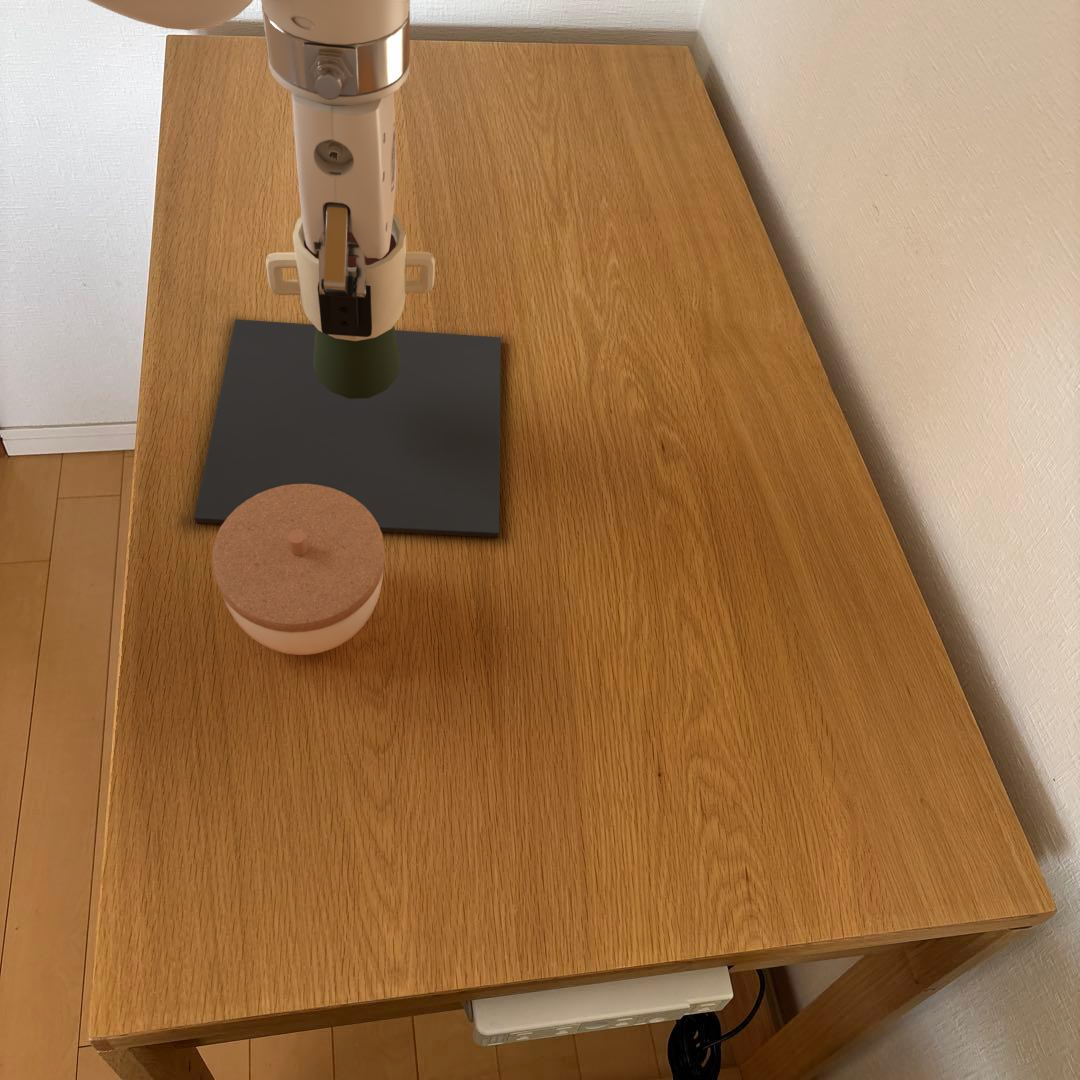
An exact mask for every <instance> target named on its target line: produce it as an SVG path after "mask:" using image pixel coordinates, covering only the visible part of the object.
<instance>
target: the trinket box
mask: <svg viewBox="0 0 1080 1080" xmlns="http://www.w3.org/2000/svg"><path fill="white" fill-rule="evenodd" d="M385 552H386V551H385V541H384V537H383V532H381V530H380V528H379V525H378V523H377V522H376V520H375V519H374V517H373V515H372V514H371V513H370V512H369V511H368V510H367V509H366V507H365V506H364V505H362V504H361V503H360V502H358V501H357V500H356V499H355V498H353V497H351V496H349V495H347V494H346V493H344V492H341V491H339V490H336V489H333V488H330V487H326V486H321V485H314V484H291V485H283V486H279V487H276V488H272V489H269V490H266V491H264V492H261V493H259V494H257V495H255V496H253V497H252V498H250V499H248V500H246V501H245V502H244V503H242V504H241V505H240V506H238V507H237V508H236V509H235V510H234V511H233V512H232V513H231V514H230V515H229V516H228V517H227V519H226V520H225V522H224V523H223V524H221V526H220V528H219V530H218V532H217V534H216V536H215V539H214V542H213V546H212V549H211V566H212V567H211V568H212V573H213V577H214V580H215V583H216V586H217V588H218V590H219V592H220V594H221V596H222V599H223V602H224V603H225V606H226V608H227V609H228V611H229V613H230V615H231V616H232V618H233V620H234V621H235V622H236V623H237V625H238V626H239V627H240V629H242V630H243V631H244V632H245V634H247V635H248V636H249V637H250V638H251V639H252V640H254V641H255V642H257V643H259V644H260V645H262V646H263V647H265V648H268V649H270V650H273V651H275V652H278V653H283V654H286V655H296V656H307V655H308V656H309V655H315V654H320V653H324V652H328V651H330V650H333V649H336V648H338V647H339V646H341V645H343V644H345V643H346V642H347V641H349V640H350V639H352V638H353V637H354V636H355V635H356V634H357V633H358V632H359V631H360V630H361V629H362V628H363V627H364V626H365V625H366V624H367V622H368V621H369V619H370V617H371V615H372V614H373V613H374V611H375V608H376V607H377V603H378V600H379V598H380V594H381V590H382V585H383V578H384V568H385V567H384V566H385V560H386V559H385V558H386V555H385Z"/></svg>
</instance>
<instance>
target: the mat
mask: <svg viewBox="0 0 1080 1080" xmlns="http://www.w3.org/2000/svg"><path fill="white" fill-rule="evenodd" d="M315 329H316V327H315V326H314V325H313V323H311V324H310V323H297V322H296V323H295V322H282V321H268V320H255V319H254V320H253V319H238V318H237V319H235V320H234V324H233V329H232V334H231V338H230V343H229V348H228V353H227V356H226V357H227V358H226V362H225V367H224V371H223V377H222V381H221V387H220V391H219V396H218V401H217V405H216V411H215V416H214V420H213V424H212V425H213V426H212V430H211V435H210V440H209V445H208V449H207V453H206V459H205V464H204V467H203V468H204V469H203V474H202V477H201V483H200V487H199V492H198V497H197V502H196V507H195V512H194V516H193V520H194V523H197V524H216V525H218V524H219V525H222V524H223V523H224V522H225V520H226V519H227V517H228V516H229V515H230V514H231V513H232V512H233V511H234V510H235V509H236V508H237V507H238V506H240V505H241V504H242V503H244V502H245V501H246V500H248V499H250V498H252V497H253V496H255V495H257V494H259V493H261V492H264V491H266V490H269V489H272V488H276V487H279V486H283V485H291V484H314V485H321V486H326V487H330V488H333V489H336V490H339V491H341V492H344V493H346V494H347V495H349V496H351V497H353V498H355V499H356V500H357V501H358V502H360V503H361V504H362V505H364V506H365V507H366V509H367V510H368V511H369V512H370V513H371V514H372V515H373V517H374V519H375V520H376V522H377V523H378V525H379V528H380V530H381V532H382V533H383V532H384V533H399V534H401V533H402V534H403V533H404V534H423V535H445V536H462V537H464V536H465V537H483V538H499V536H500V488H501V487H500V486H501V485H500V483H501V482H500V481H501V480H500V476H501V474H500V473H501V470H500V469H501V466H500V465H501V376H502V375H501V372H502V371H501V367H502V365H501V362H502V359H501V358H502V356H501V355H502V338H501V336H487V335H474V334H473V335H471V334H457V333H442V332H429V331H427V332H426V331H413V330H401V329H400V330H398V329H395V334H396V339H397V343H398V349H399V356H400V363H401V364H400V368H399V373H398V377H397V378H396V379H395V381H394V382H393V383H392V384H391V385H390V386H389V387H388V389H387V390H385V391H383V392H381V393H379V394H377V395H375V396H373V397H370V398H360V399H348V398H346V397H343V396H340V395H338V394H335V393H333V392H330V391H329V390H328V389H327V388H326V387H325V386H324V385H323V384H322V383H321V382H320V381H319V380H318V379H317V376H316V373H315V370H314V367H313V351H314V340H315Z"/></svg>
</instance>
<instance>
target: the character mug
mask: <svg viewBox="0 0 1080 1080" xmlns="http://www.w3.org/2000/svg"><path fill="white" fill-rule="evenodd" d="M349 242H355V243H357V241H356V239H355V238H354V236H353V234H352V233H349ZM292 243H293V251H294V252H293V251H292V252H291V251H289V252H287V251H285V252H284V251H281V252H280V251H279V252H271V253H269V254H268V255H267V256H266V258H265V262H264V263H265V270H266V276H267V283H268V287H269V289H270V290H271V292H272V293H273V294H274V295H277V296H299V300H300V303H301V306H302V310H303V313H304V314H305V316H306V317H307V319H308V320H309V322H310V323H311V324H312V325H314V326H315V327H316V329H315V340H314V351H313V367H314V370H315V373H316V376H317V379H318V380H319V381H320V382H321V383H322V384H323V385H324V386H325V387H326V388H327V389H328V390H329V391H330V392H333V393H335V394H338V395H340V396H343V397H346V398H348V399H360V398H370V397H373V396H375V395H377V394H379V393H381V392H383V391H385V390H387V389H388V387H389V386H390V385H391V384H392V383H393V382H394V381H395V379H396V378H397V377H398V373H399V368H400V364H401V363H400V356H399V349H398V343H397V339H396V334H395V330H396V329H395V325H396V323H397V322H398V321H399V319H400V318H401V316H402V314H403V311H404V308H405V303H406V297H407V294H408V295H409V294H427V293H430V292H432V291H433V288H434V285H435V275H436V259H435V257H434V255H433V254H432V253H431V252H428V251H425V250H422V251H421V250H419V251H415V250H414V251H412V250H411V251H407V235H406V231H405V229H404V227H403V224H402V221H401V219H400V218H399V217H398V216H397V215H396V214H395V213H393V221H392V231H391V239H390V247H389V251H388V252H387V254H386V255H385V256H384V257H383V258H381V259H377V258H367V257H366V285H367V286H371V308H372V334H371V336H369V337H358V336H343V335H328V334H325V333H323V332H322V329H321V319H320V308H319V297H318V282H319V251H317V254H314V253H313V252H312V251H311V250H310V249H309V248H308V247H307V245H306V241H305V236H304V230H303V222H302V214H300V216H299V217H298V219H297V220H296V224H295V226H294V230H293V233H292ZM407 268H419V277H417V278H407ZM283 269H295V270H296V277H297V279H284V276H283ZM348 274H349V276H354V277H356V257H355V256H348Z"/></svg>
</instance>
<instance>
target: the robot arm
mask: <svg viewBox="0 0 1080 1080" xmlns="http://www.w3.org/2000/svg"><path fill="white" fill-rule="evenodd" d="M87 1H88V2H90V3H93V4H95V5H97V6H98V7H100V8H101V7H102V8H103V9H105V10H108V11H111V12H113V13H115V14H118V15H120V16H123V17H126V18H129V19H131V20H133V21H136V22H140V23H143V24H147V25H151V26H155V27H160V28H164V29H171V30H181V31H193V30H202V29H203V30H205V29H209V28H213V27H216V26H220V25H224V24H226V22H229V21H231V20H232V19H234V18H236V17H238V16H239V15H240V14H241V13H242V12H243V11H245V9H247V8H248V7H249V6H250V5H251V4H252V3H253V2H254V0H87ZM260 4H261V11H262V12H261V13H262V21H263V28H264V38H265V45H266V53H267V54H266V55H267V60H268V61H267V62H268V70H269V72H270V74H271V76H272V77H273V78H274V80H275V81H276V82H277V83H278V84H279V86H281V88H283V89H285V90H286V91H288V92H289V93H290V94H291V106H292V107H291V108H292V119H293V120H292V121H293V129H292V132H293V136H294V147H295V160H296V161H295V162H296V173H297V174H296V175H297V183H298V185H297V186H298V193H299V194H298V195H299V203H300V205H299V206H300V215H302V222H303V230H304V236H305V241H306V245H307V247H308V248H309V249H310V250H311V251H312V252H313V253H314V254H317V251H319V282H318V297H319V308H320V319H321V329H322V332H323V333H325V334H328V335H343V336H358V337H369V336H371V334H372V308H371V286H367V285H366V257H367V258H377V259H381V258H383V257H384V256H385V255H386V254H387V252H388V251H389V247H390V239H391V231H392V221H393V214H394V212H395V201H396V200H395V199H396V186H397V173H398V171H397V170H398V162H397V158H398V157H397V144H396V143H397V141H396V110H395V109H396V108H395V107H396V106H395V104H396V103H395V93H396V92H397V91H398V90H399V89H401V88H402V86H403V85H404V84H405V83H406V81H407V79H408V77H409V74H410V70H411V69H410V68H411V67H410V66H411V64H410V63H411V59H410V55H411V54H410V52H411V50H410V46H411V45H410V43H411V40H410V38H411V37H410V36H411V35H410V34H411V32H410V31H411V0H260ZM349 233H352V234H353V236H354V238H355V239H356V241H357V243H355V242H349ZM348 256H355V257H356V277H354V276H349V274H348Z"/></svg>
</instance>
